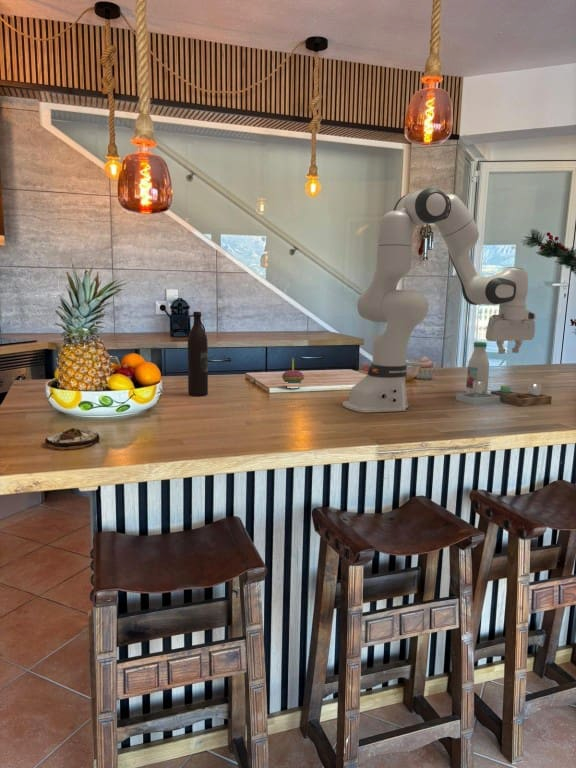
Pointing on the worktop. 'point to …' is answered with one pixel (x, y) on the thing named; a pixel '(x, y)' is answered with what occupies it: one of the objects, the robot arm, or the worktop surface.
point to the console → (502, 393)
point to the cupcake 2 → (426, 369)
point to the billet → (478, 389)
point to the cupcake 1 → (293, 375)
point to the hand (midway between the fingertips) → (508, 353)
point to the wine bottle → (197, 359)
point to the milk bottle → (478, 367)
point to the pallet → (526, 399)
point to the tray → (468, 398)
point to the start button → (505, 389)
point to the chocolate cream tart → (72, 439)
